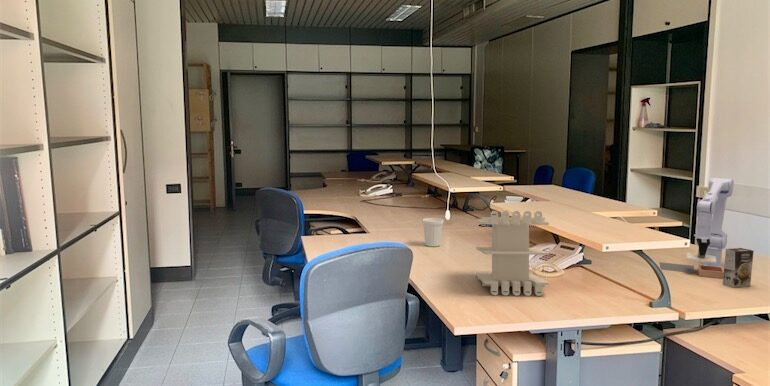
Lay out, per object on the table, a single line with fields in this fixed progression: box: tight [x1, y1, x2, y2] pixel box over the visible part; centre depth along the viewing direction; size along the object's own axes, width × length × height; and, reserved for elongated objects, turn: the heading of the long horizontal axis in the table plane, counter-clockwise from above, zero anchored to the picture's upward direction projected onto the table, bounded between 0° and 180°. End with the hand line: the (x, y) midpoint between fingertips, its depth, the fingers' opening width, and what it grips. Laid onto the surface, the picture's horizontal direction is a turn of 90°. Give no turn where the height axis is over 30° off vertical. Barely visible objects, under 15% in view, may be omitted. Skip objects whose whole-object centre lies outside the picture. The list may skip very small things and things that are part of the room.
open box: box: [697, 264, 724, 280], centre depth 258 cm, size 10×10×4 cm
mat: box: [659, 261, 696, 274], centre depth 271 cm, size 15×15×1 cm
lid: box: [686, 249, 716, 263], centre depth 261 cm, size 12×12×5 cm
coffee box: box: [722, 247, 755, 289], centre depth 242 cm, size 9×6×16 cm
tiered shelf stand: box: [475, 210, 550, 297], centre depth 244 cm, size 26×31×35 cm
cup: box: [421, 217, 445, 248], centre depth 320 cm, size 12×12×15 cm
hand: (702, 254), depth 261 cm, fingers closed on lid, 3 cm apart
